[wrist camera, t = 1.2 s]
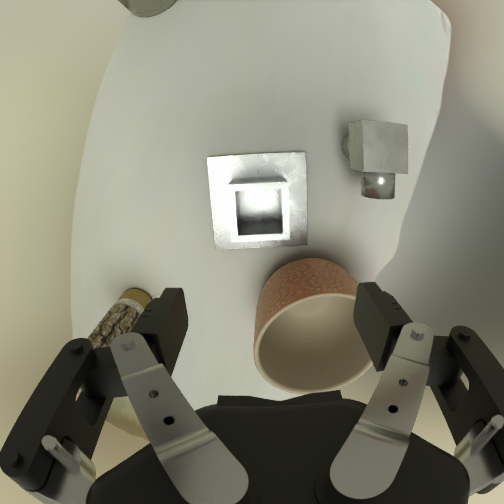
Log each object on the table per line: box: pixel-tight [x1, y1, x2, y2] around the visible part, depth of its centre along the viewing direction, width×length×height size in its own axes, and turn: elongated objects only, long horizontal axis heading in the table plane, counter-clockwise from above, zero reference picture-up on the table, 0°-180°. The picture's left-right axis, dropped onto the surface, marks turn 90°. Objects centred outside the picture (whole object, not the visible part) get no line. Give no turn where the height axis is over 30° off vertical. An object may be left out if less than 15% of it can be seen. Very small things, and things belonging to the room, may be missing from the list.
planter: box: [254, 258, 373, 394], centre depth 39 cm, size 17×17×15 cm
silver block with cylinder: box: [342, 120, 408, 199], centre depth 33 cm, size 9×6×11 cm, turn 3°
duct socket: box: [207, 152, 307, 250], centre depth 37 cm, size 14×14×8 cm
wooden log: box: [76, 289, 152, 400], centre depth 36 cm, size 7×7×25 cm
